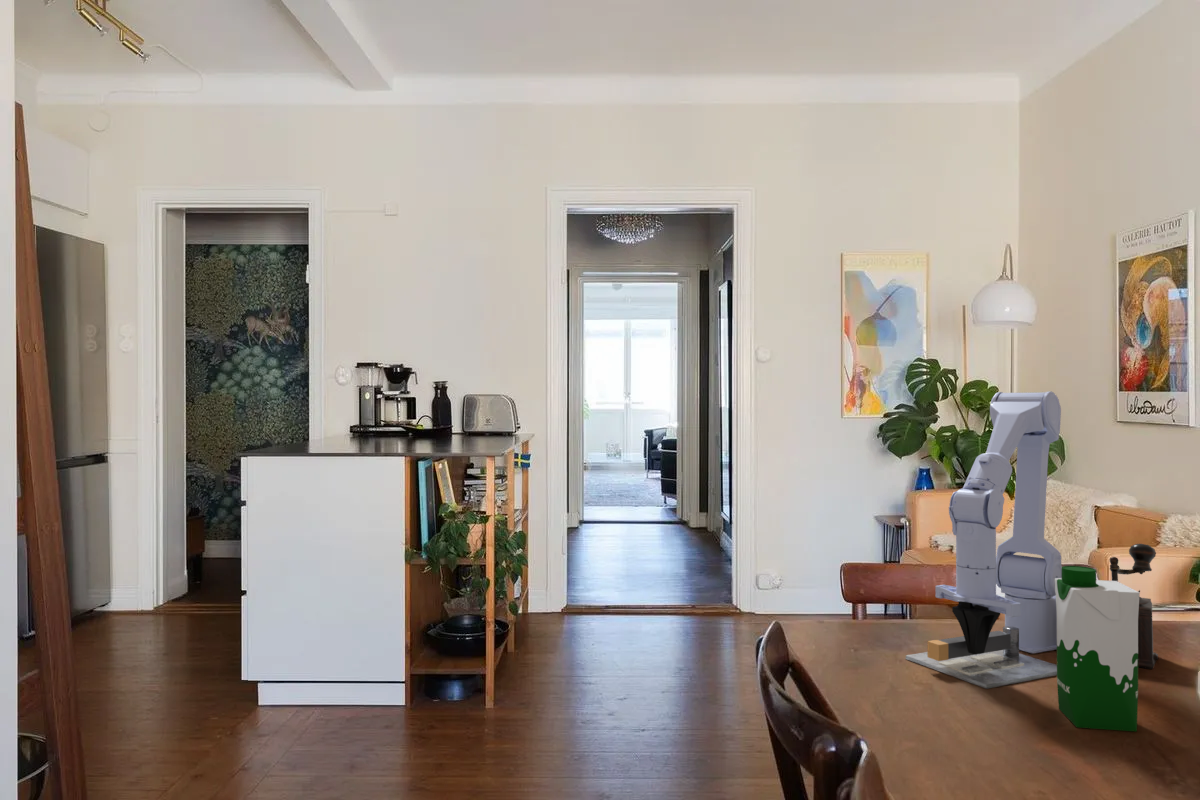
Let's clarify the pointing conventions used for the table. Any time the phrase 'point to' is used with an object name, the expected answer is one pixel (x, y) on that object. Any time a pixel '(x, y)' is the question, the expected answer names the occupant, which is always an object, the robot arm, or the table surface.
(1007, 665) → the tray base
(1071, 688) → the milk carton
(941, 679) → the table surface
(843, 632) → the table surface
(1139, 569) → the manual coffee grinder
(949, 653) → the swing arm
